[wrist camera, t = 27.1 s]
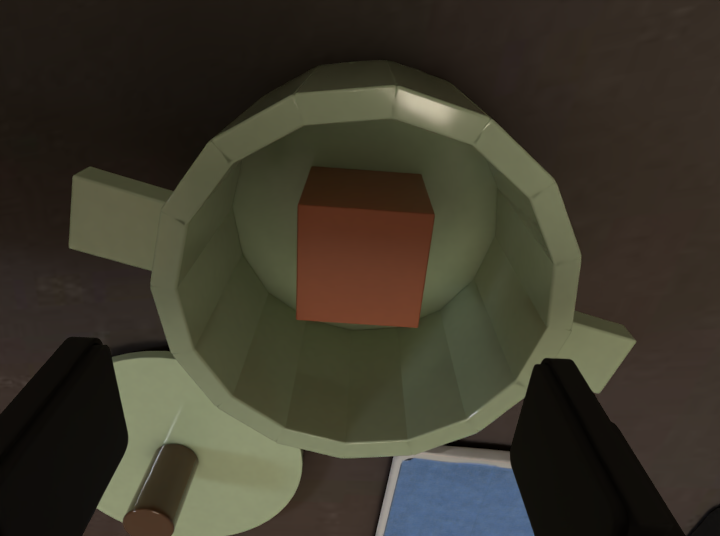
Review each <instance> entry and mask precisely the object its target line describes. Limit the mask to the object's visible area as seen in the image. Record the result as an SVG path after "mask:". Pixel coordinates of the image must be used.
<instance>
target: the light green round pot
mask: <svg viewBox="0 0 720 536" xmlns="http://www.w3.org/2000/svg"><path fill="white" fill-rule="evenodd" d="M312 166H316V167H330V168H344V169H357V170H371V171H385V172H399V173H412V174H421V175H422V177H423V180H424V183H425V186H426V189H427V192H428V195H429V198H430V201H431V204H432V207H433V210H434V213H435V219H434V226H433V232H432V239H431V246H430V252H429V259H428V266H427V272H426V279H425V286H424V292H423V299H422V306H421V312H420V319H419V326H418V328H410V327H395V326H379V325H364V324H349V323H334V322H319V321H304V320H297V319H296V280H297V206H298V203H299V200H300V197H301V194H302V191H303V189H304V186H305V183H306V180H307V177H308V175H309V172H310V169H311V167H312ZM69 248H70V249H73V250H77V251H81V252H84V253H88V254H92V255H95V256H99V257H102V258H106V259H110V260H113V261H117V262H121V263H124V264H128V265H132V266H135V267H139V268H142V269H146V270H150V271H152V273H151V280H150V285H151V287H150V289H151V292H152V295H153V298H154V301H155V304H156V308H157V311H158V314H159V317H160V320H161V323H162V327H163V330H164V333H165V336H166V339H167V342H168V346H169V349H170V352H171V353H172V354H173V357H174V358H175V359H176V360H177V361H178V363H179V364H180V365H181V366H182V367H183V368H184V370H185V371H186V372H187V373H188V374H189V376H190V377H191V378H192V379H193V380H194V381H195V383H196V384H197V385H198V386H199V387H200V389H201V390H202V391H203V392H204V393H205V395H206V396H207V397H208V398H209V399H210V400H211V402H212V403H213V404H214V405H215V406H217V407H218V409H220V410H222V411H223V412H225V413H227V414H229V415H230V416H232V417H234V418H235V419H237V420H239V421H240V422H242V423H244V424H246V425H247V426H249V427H251V428H252V429H254V430H256V431H257V432H259V433H261V434H262V435H264V436H266V437H268V438H269V439H271V440H273V441H276V443H278V444H283V445H287V446H291V447H295V448H299V449H304V450H308V451H312V452H316V453H320V454H325V455H329V456H333V457H337V458H341V459H343V458H345V459H347V458H367V457H388V456H409V455H412V454H413V455H416V454H419V453H421V452H424V451H427V450H430V449H433V448H436V447H439V446H442V445H445V444H447V443H450V442H453V441H456V440H459V439H462V438H465V437H468V436H470V435H473V434H476V433H478V431H481V430H482V429H484V428H485V427H486V426H488V425H489V424H490V423H492V422H493V421H494V420H496V419H497V418H498V417H500V416H501V415H502V414H504V413H505V412H506V411H507V410H509V409H510V408H511V407H513V406H514V405H515V404H517V403H518V402H519V401H521V400H522V399H523V398H525V395H526V391H527V388H528V384H529V380H530V377H531V373H532V370H533V367H534V365H535V364H541V362H542V360H543V359H544V358H559V359H571V360H573V361H574V363H575V364H576V366H577V367H578V369H579V371H580V372H581V374H582V375H583V377H584V379H585V380H586V382H587V384H588V385H589V387H590V389H591V390H592V392H594V393H601V391H602V390H603V388H604V387H605V385H606V384H607V383H608V381H609V380H610V378H611V377H612V376H613V374H614V373H615V371H616V370H617V369H618V367H619V366H620V364H621V363H622V362H623V360H624V359H625V357H626V356H627V354H628V353H629V352H630V350H631V349H632V347H633V346H634V345H635V343H636V340H635V339H634V338H633V336H632V335H631V334H630V333H629V331H628V330H627V329H626V328H625V327H624V326H623V325H621V324H617V323H614V322H611V321H607V320H604V319H601V318H597V317H594V316H591V315H587V314H584V313H580V312H577V311H574V310H575V303H576V296H577V288H578V281H579V274H580V267H581V252H580V249H579V246H578V243H577V240H576V237H575V234H574V231H573V228H572V225H571V223H570V220H569V217H568V214H567V211H566V208H565V205H564V202H563V199H562V196H561V193H560V190H559V188H558V185H557V183H556V182H555V179H554V178H553V177H552V176H551V175H550V174H549V173H548V172H547V171H546V170H545V169H544V168H543V167H542V166H541V165H540V164H539V163H538V162H537V161H535V160H534V159H533V158H532V157H531V156H530V155H529V154H528V153H527V152H526V151H525V150H524V149H523V148H522V147H521V146H520V145H519V144H518V143H517V142H516V141H515V140H514V139H513V138H512V137H511V136H510V135H509V134H508V133H507V132H506V131H505V130H504V129H503V128H502V127H501V126H500V125H498V124H497V123H496V122H495V121H494V120H493V119H492V118H491V117H490V116H489V115H488V114H486V113H485V112H484V111H483V110H482V109H481V108H480V107H478V106H477V105H476V104H475V103H474V102H473V101H471V100H470V99H469V98H468V97H467V96H466V95H464V94H463V93H462V92H461V91H460V90H459V89H458V88H456V87H455V86H454V85H453V84H452V83H449V82H448V81H446V80H443V79H440V78H438V77H435V76H432V75H429V74H427V73H425V72H422V71H420V70H418V69H414V68H411V67H407V66H403V65H401V64H398V63H395V62H392V61H389V60H387V61H386V60H374V61H350V62H344V63H338V64H328V65H319V66H318V67H314V68H313V69H311V70H309V71H307V72H305V73H304V74H302V75H300V76H298V77H296V78H294V79H292V80H290V81H289V82H287V83H286V84H284V85H282V86H281V87H279V88H277V89H275V90H273V91H272V92H270V93H268V94H266V95H265V96H263V97H261V98H260V99H259V100H258V101H256V102H255V103H254V104H253V105H252V106H250V107H249V108H248V109H247V110H246V111H244V112H243V113H242V114H241V115H240V116H238V117H237V118H236V119H235V120H234V121H232V122H231V123H230V124H229V125H228V126H226V127H225V128H224V129H223V130H222V131H220V132H219V133H218V134H217V135H216V136H214V137H213V138H212V139H211V140H210V141H208V143H207V144H206V146H205V147H204V149H203V150H202V151H201V153H200V154H199V156H198V157H197V158H196V160H195V161H194V163H193V164H192V166H191V167H190V168H189V170H188V171H187V173H186V174H185V176H184V177H183V178H182V180H181V181H180V183H179V184H178V185H177V187H176V188H175V190H174V191H171V190H168V189H164V188H161V187H157V186H154V185H151V184H147V183H144V182H141V181H137V180H134V179H131V178H127V177H124V176H120V175H117V174H114V173H110V172H107V171H104V170H100V169H97V168H94V167H87V168H85V169H84V170H82V171H80V172H78V173H77V174H75V175H73V177H72V195H71V213H70V230H69Z"/></svg>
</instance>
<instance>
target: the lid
mask: <svg viewBox="0 0 720 536" xmlns="http://www.w3.org/2000/svg"><path fill="white" fill-rule="evenodd" d="M112 361H113V366H114V370H115V375H116V379H117V384H118V389H119V393H120V398H121V403H122V407H123V412H124V417H125V421H126V426H127V431H128V446H127V449H126V452H125V454H124V456H123V458H122V460H121V462H120V464H119V465H118V467H117V469H116V471H115V473H114V475H113V477H112V479H111V481H110V483H109V485H108V487H107V489H106V490H105V492H104V494H103V496H102V498H101V500H100V502H99V504H98V506H97V509H99V510H100V511H102V512H103V513H105V514H107V515H109V516H111V517H112V518H114V519H116V520H118V521H121V522H123V527H124V529H125V530H126V532H127V533H128V534H129V535H131V536H228V535H234V534H237V533H241V532H244V531H247V530H250V529H252V528H255V527H257V526H259V525H261V524H263V523H265V522H266V521H268V520H270V519H271V518H273V517H274V516H275V515H277V514H278V513H279V512H280V511H281V510H282V509H283V508H284V507H285V506H286V505H287V504H288V503H289V501H290V500H291V499H292V497H293V496H294V494H295V492H296V490H297V488H298V486H299V482H300V479H301V475H302V469H303V458H304V455H303V449H299V448H295V447H291V446H287V445H283V444H278V443H276V441H273V440H271V439H269V438H268V437H266V436H264V435H262V434H261V433H259V432H257V431H256V430H254V429H252V428H251V427H249V426H247V425H246V424H244V423H242V422H240V421H239V420H237V419H235V418H234V417H232V416H230V415H229V414H227V413H225V412H223V411H222V410H220V409H218V407H217V406H215V405H214V404H213V403H212V402H211V400H210V399H209V398H208V397H207V396H206V395H205V393H204V392H203V391H202V390H201V389H200V387H199V386H198V385H197V384H196V383H195V381H194V380H193V379H192V378H191V377H190V376H189V374H188V373H187V372H186V371H185V370H184V368H183V367H182V366H181V365H180V364H179V363H178V361H177V360H176V359H175V358H174V357H173V354H172V353H171V352H170V351H141V352H133V353H126V354H122V355H118V356H114V357H112Z"/></svg>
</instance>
